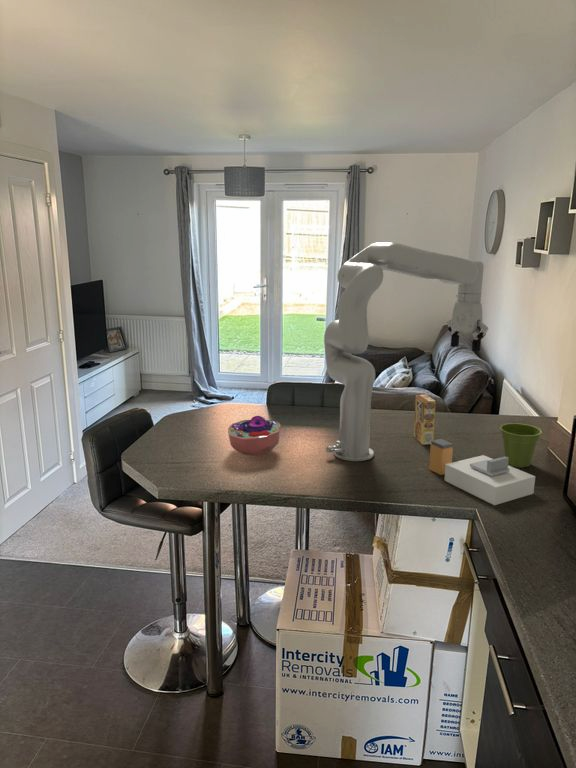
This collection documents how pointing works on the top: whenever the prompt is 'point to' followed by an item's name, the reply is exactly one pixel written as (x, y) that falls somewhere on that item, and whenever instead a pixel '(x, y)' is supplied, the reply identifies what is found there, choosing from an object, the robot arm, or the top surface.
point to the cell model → (254, 435)
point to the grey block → (492, 466)
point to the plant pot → (519, 443)
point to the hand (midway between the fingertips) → (465, 348)
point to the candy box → (424, 419)
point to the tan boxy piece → (440, 455)
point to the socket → (489, 481)
